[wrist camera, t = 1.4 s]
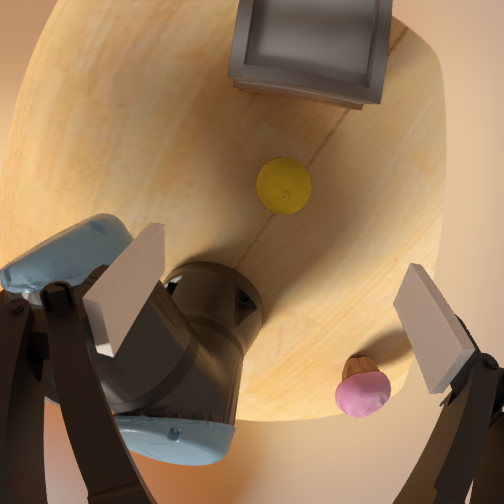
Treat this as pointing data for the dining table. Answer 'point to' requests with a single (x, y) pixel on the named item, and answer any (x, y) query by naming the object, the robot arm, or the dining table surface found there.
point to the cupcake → (362, 388)
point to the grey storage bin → (312, 49)
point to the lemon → (283, 186)
